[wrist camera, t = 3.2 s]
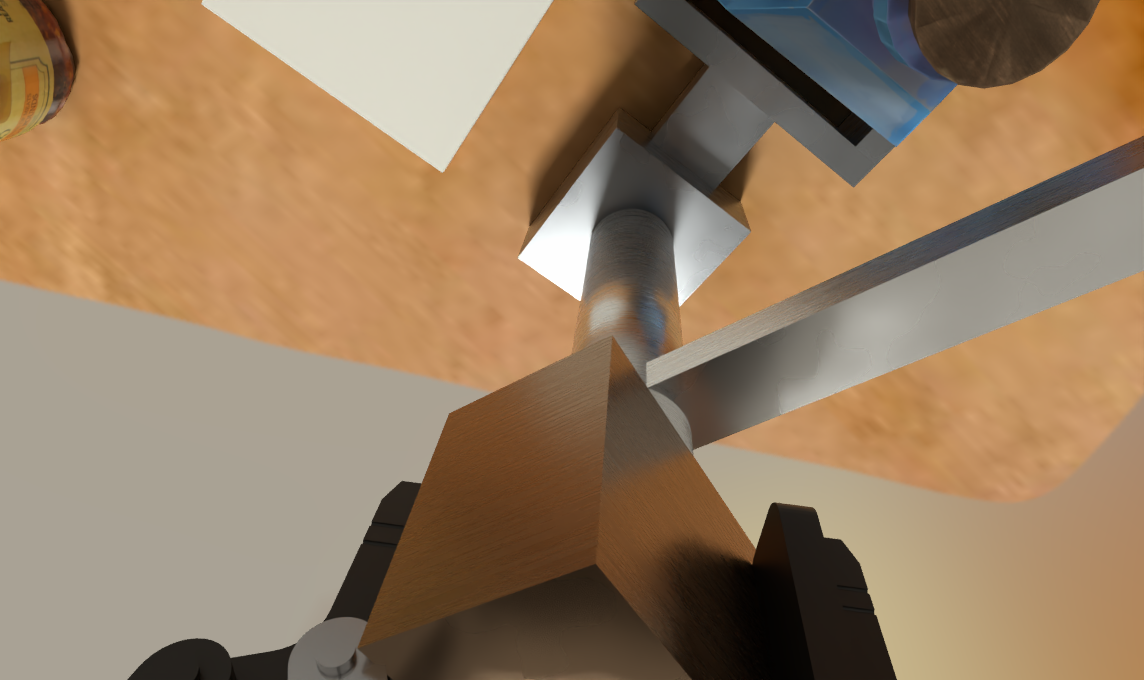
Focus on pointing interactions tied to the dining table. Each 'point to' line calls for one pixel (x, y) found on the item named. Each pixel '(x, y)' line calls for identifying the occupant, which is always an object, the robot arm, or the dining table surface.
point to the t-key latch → (691, 441)
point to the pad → (397, 57)
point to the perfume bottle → (913, 47)
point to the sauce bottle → (31, 66)
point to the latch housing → (689, 158)
